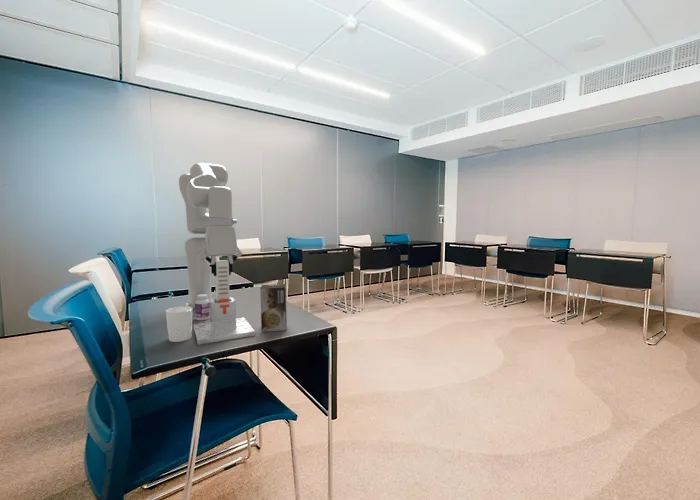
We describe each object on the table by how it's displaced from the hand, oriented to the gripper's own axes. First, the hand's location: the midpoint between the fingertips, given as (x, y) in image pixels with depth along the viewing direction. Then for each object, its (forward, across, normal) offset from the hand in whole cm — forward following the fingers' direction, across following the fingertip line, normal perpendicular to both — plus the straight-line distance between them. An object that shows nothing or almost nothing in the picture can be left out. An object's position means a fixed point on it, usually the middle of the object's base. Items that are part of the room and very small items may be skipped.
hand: (222, 274), depth 112 cm
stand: (+21, 0, 0) cm, 21 cm away
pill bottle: (+21, +5, -20) cm, 29 cm away
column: (+13, 0, 0) cm, 13 cm away
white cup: (+21, +14, 0) cm, 25 cm away
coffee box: (+21, -17, +5) cm, 27 cm away
